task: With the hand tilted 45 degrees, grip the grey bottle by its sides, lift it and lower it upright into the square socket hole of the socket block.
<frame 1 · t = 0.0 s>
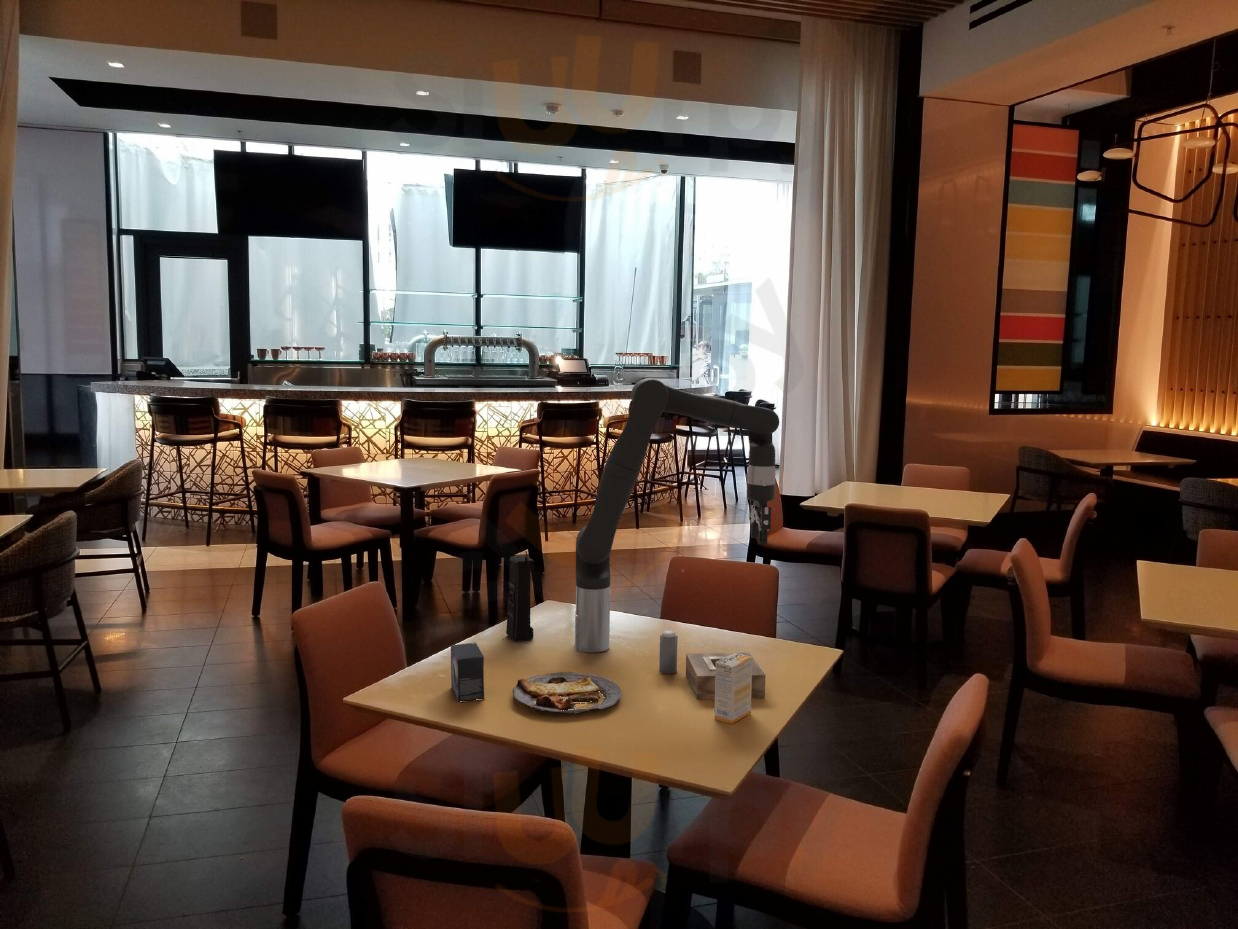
hand: (759, 541, 244), 29 cm above the table, tool pointing down, fingers open, 8 cm apart
supplement box: (732, 717, 198), on the table
grey bottle: (668, 671, 226), on the table
food plate: (566, 700, 207), on the table
portable radio: (518, 638, 252), on the table
socket block: (723, 686, 216), on the table
small box: (467, 694, 209), on the table
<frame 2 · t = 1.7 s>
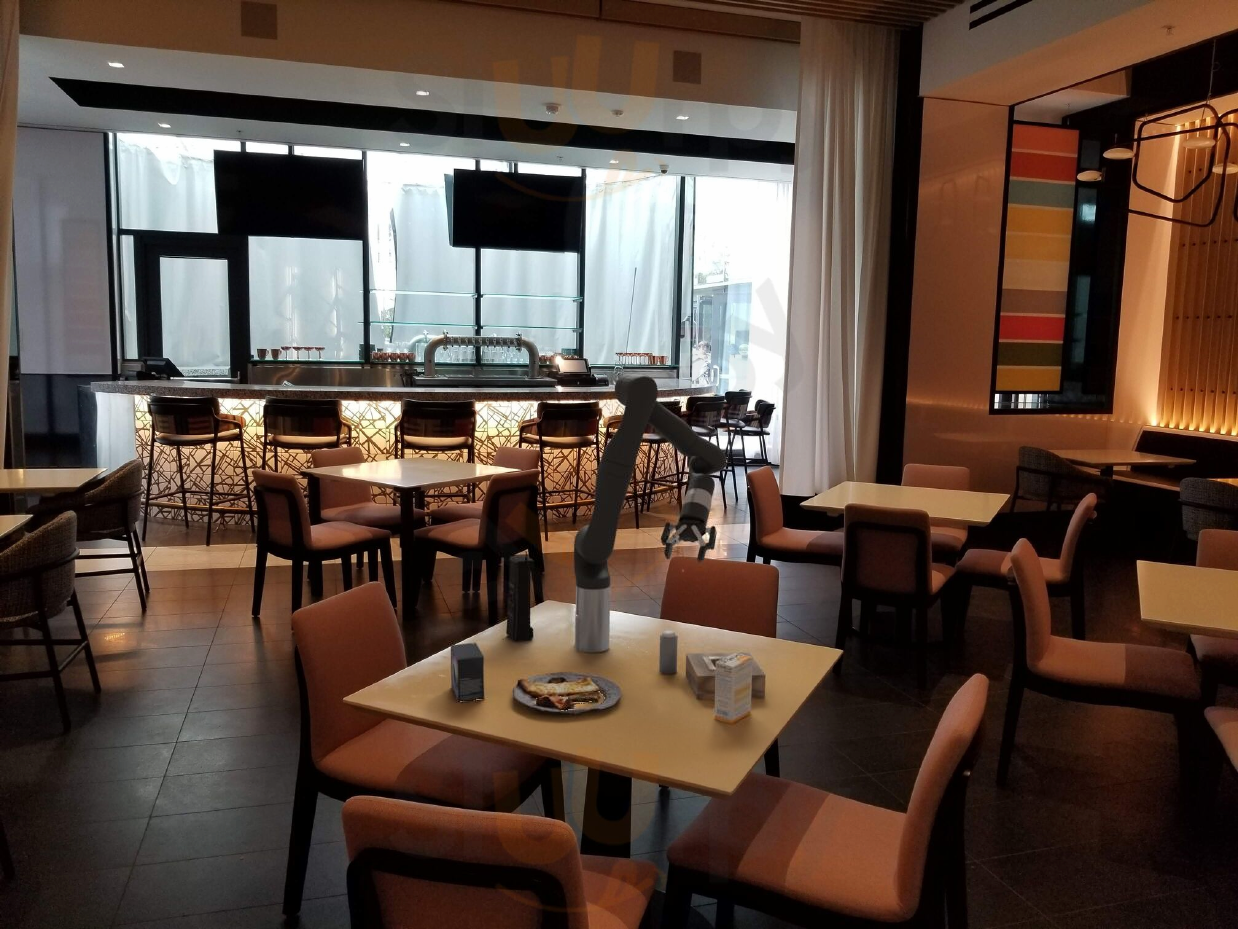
hand: (683, 559, 234), 26 cm above the table, tool tilted 45°, fingers open, 8 cm apart
nothing on the table moved.
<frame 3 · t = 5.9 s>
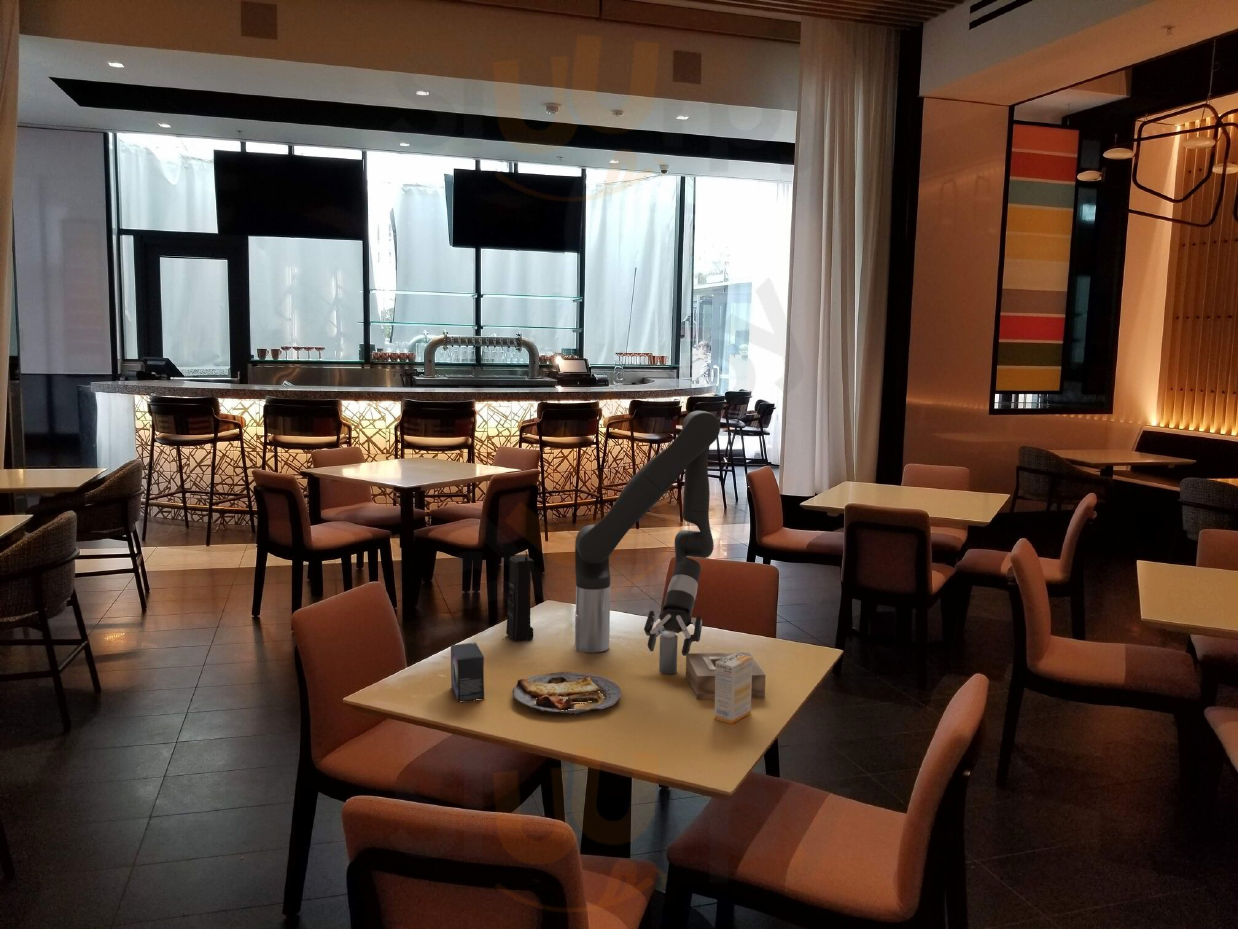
hand: (667, 652, 224), 5 cm above the table, tool tilted 45°, fingers open, 8 cm apart
nothing on the table moved.
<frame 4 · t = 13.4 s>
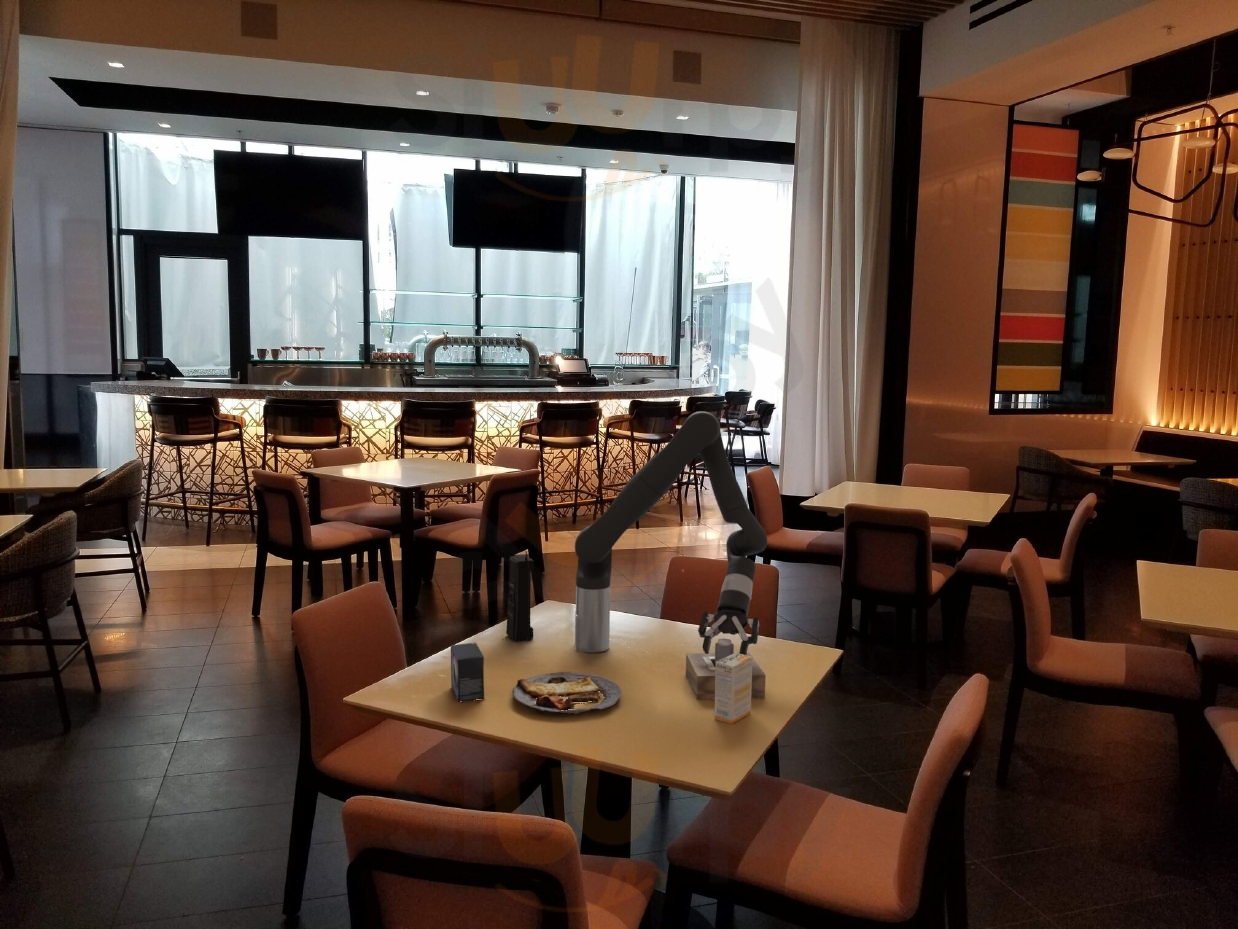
hand: (723, 655, 214), 8 cm above the table, tool tilted 45°, fingers open, 8 cm apart
grey bottle: (723, 681, 216), point 1 cm above the table, touching socket block
everything else where it was.
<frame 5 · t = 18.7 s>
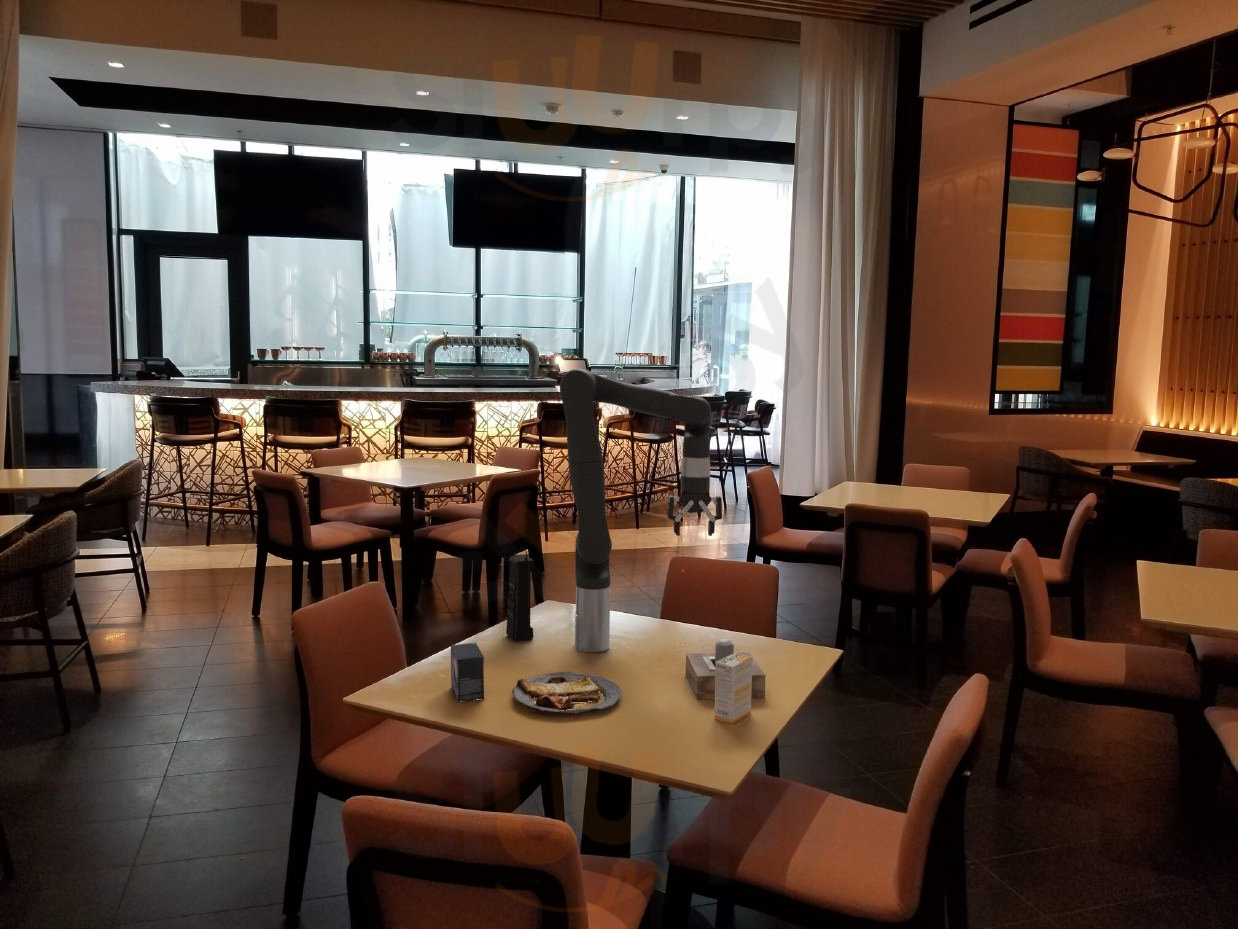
hand: (694, 535, 236), 32 cm above the table, tool pointing down, fingers open, 8 cm apart
nothing on the table moved.
at the end: grey bottle 0.2 cm off-centre on the socket block, point 1.2 cm above the socket block's base; grey bottle tilted 0°; the gripper is holding nothing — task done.
